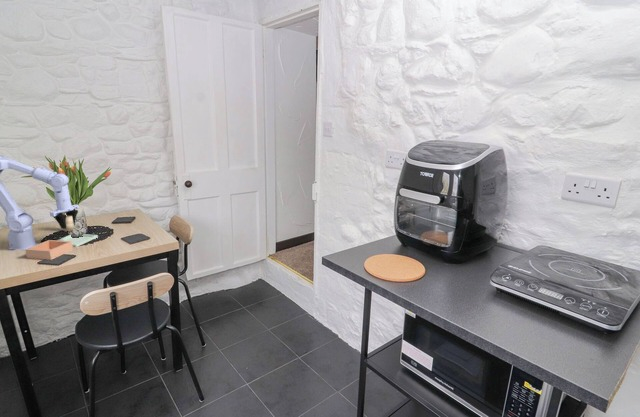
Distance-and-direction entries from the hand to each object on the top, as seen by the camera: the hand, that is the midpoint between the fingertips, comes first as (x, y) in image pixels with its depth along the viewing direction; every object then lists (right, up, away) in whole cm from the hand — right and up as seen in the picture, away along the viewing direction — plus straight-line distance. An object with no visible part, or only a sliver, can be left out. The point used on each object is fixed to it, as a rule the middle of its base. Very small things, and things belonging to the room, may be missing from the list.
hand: (68, 226), depth 171 cm
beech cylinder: (0, -1, 0) cm, 2 cm away
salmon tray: (0, -12, -11) cm, 16 cm away
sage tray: (0, -8, +5) cm, 9 cm away
